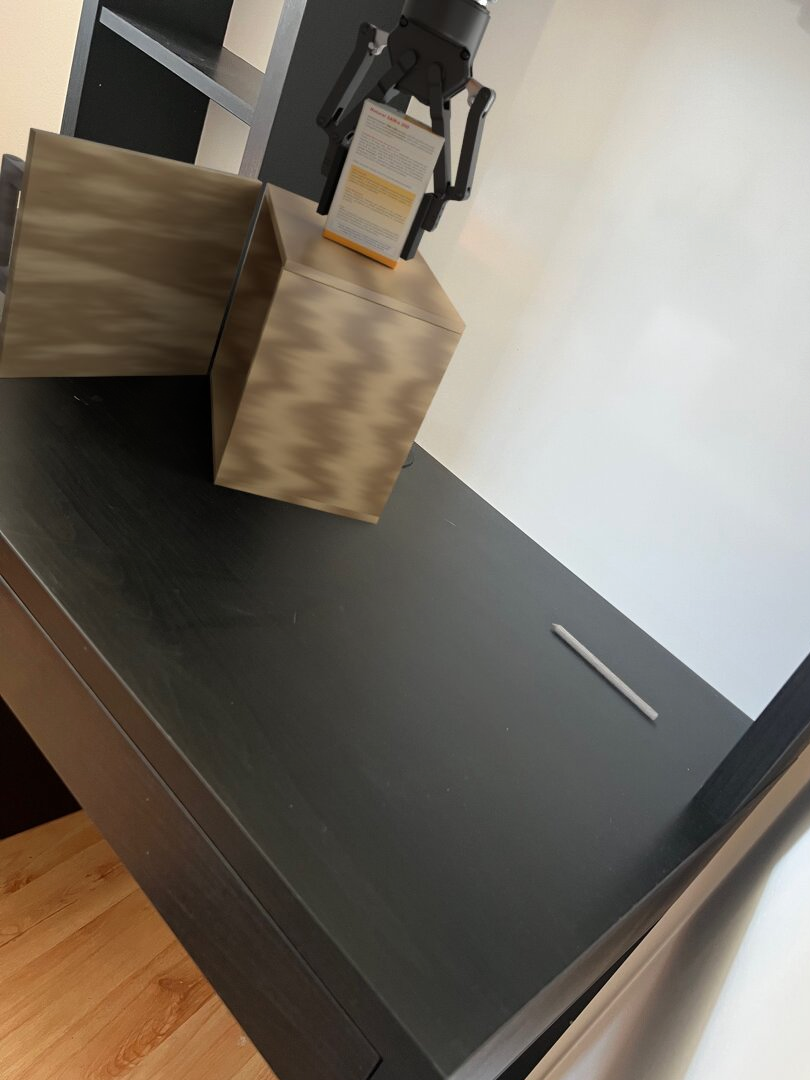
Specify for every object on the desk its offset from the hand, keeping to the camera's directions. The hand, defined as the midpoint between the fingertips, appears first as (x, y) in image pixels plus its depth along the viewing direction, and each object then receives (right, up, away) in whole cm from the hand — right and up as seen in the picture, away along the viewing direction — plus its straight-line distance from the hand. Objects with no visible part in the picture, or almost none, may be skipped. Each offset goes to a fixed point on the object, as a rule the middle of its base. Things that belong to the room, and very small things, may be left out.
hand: (365, 235), depth 87 cm
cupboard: (-10, -19, +13) cm, 25 cm away
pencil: (+24, -45, +2) cm, 51 cm away
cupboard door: (-32, -10, +9) cm, 35 cm away
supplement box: (-1, -1, +1) cm, 2 cm away
